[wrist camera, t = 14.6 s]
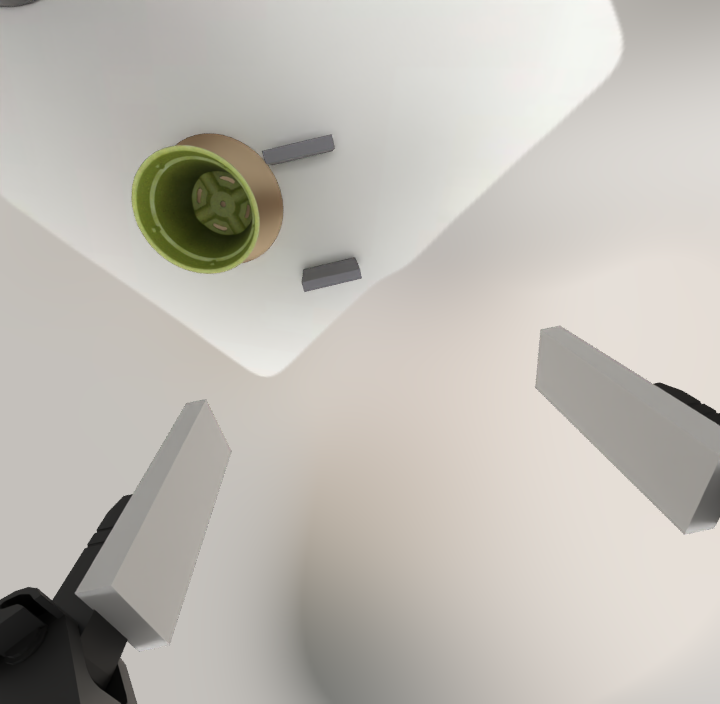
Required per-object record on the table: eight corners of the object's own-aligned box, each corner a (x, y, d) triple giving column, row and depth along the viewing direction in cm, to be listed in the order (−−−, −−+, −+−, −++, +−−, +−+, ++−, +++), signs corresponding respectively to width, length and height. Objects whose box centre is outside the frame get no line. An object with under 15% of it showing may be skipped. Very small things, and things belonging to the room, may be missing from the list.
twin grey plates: (269, 153, 33) (262, 151, 28) (329, 139, 32) (331, 134, 28) (305, 278, 39) (304, 291, 34) (356, 266, 39) (361, 278, 34)
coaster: (134, 150, 31) (132, 150, 31) (259, 120, 31) (259, 119, 31) (191, 274, 37) (190, 275, 37) (297, 249, 37) (297, 250, 37)
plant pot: (263, 262, 37) (249, 286, 29) (171, 237, 35) (130, 256, 27) (280, 170, 33) (268, 170, 25) (176, 135, 31) (131, 124, 23)
